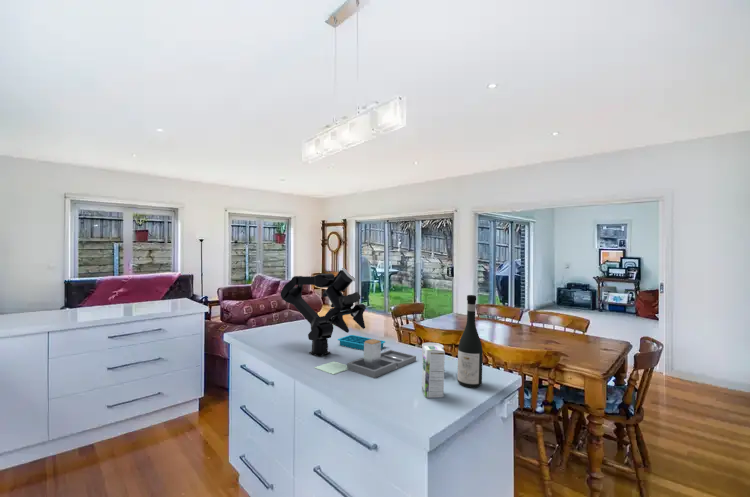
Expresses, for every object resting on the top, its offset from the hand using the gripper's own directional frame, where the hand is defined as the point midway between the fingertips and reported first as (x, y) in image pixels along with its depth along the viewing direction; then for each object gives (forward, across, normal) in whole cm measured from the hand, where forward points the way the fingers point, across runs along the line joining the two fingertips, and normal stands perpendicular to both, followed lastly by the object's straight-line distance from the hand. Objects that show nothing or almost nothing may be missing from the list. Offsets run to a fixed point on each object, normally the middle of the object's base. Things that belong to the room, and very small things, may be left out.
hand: (356, 330), depth 135 cm
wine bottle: (+39, +12, -20) cm, 45 cm away
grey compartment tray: (+15, +7, +4) cm, 17 cm away
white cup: (+28, +13, -9) cm, 32 cm away
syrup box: (+35, -4, -16) cm, 39 cm away
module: (+15, 0, +4) cm, 16 cm away
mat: (+7, -9, +11) cm, 16 cm away
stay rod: (+15, +14, +4) cm, 21 cm away
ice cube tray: (-1, +21, +21) cm, 30 cm away
